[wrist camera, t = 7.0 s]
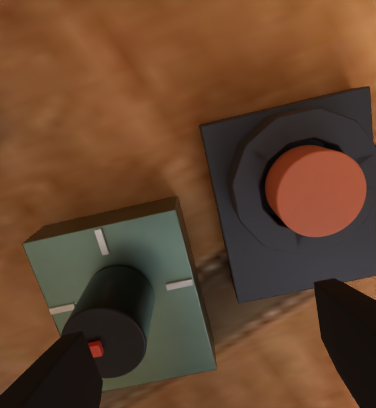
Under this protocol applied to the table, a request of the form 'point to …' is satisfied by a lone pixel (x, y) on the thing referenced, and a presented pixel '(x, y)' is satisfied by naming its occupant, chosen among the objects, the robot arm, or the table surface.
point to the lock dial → (114, 319)
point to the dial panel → (142, 262)
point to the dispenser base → (262, 212)
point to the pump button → (315, 190)
